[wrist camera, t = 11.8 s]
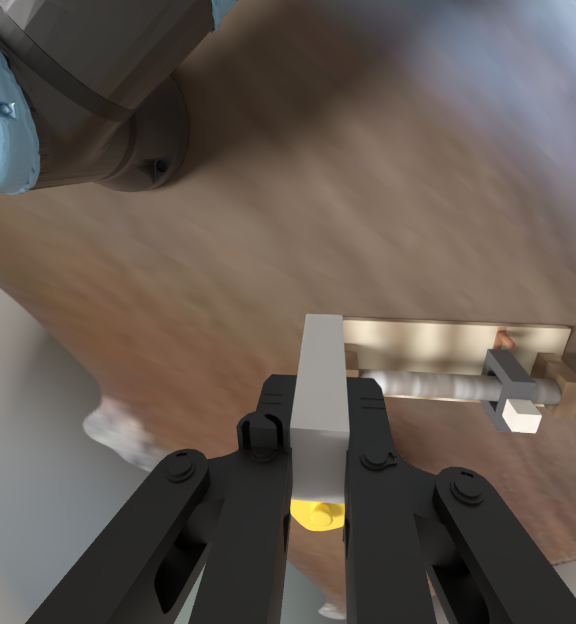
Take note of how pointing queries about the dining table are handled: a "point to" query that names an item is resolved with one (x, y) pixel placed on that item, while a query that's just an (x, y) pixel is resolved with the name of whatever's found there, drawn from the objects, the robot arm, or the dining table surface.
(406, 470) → the robot arm
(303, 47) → the dining table surface
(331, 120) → the dining table surface
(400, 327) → the pipe rig
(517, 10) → the dining table surface
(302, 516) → the teapot
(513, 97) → the dining table surface
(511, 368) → the grey sliding frame
